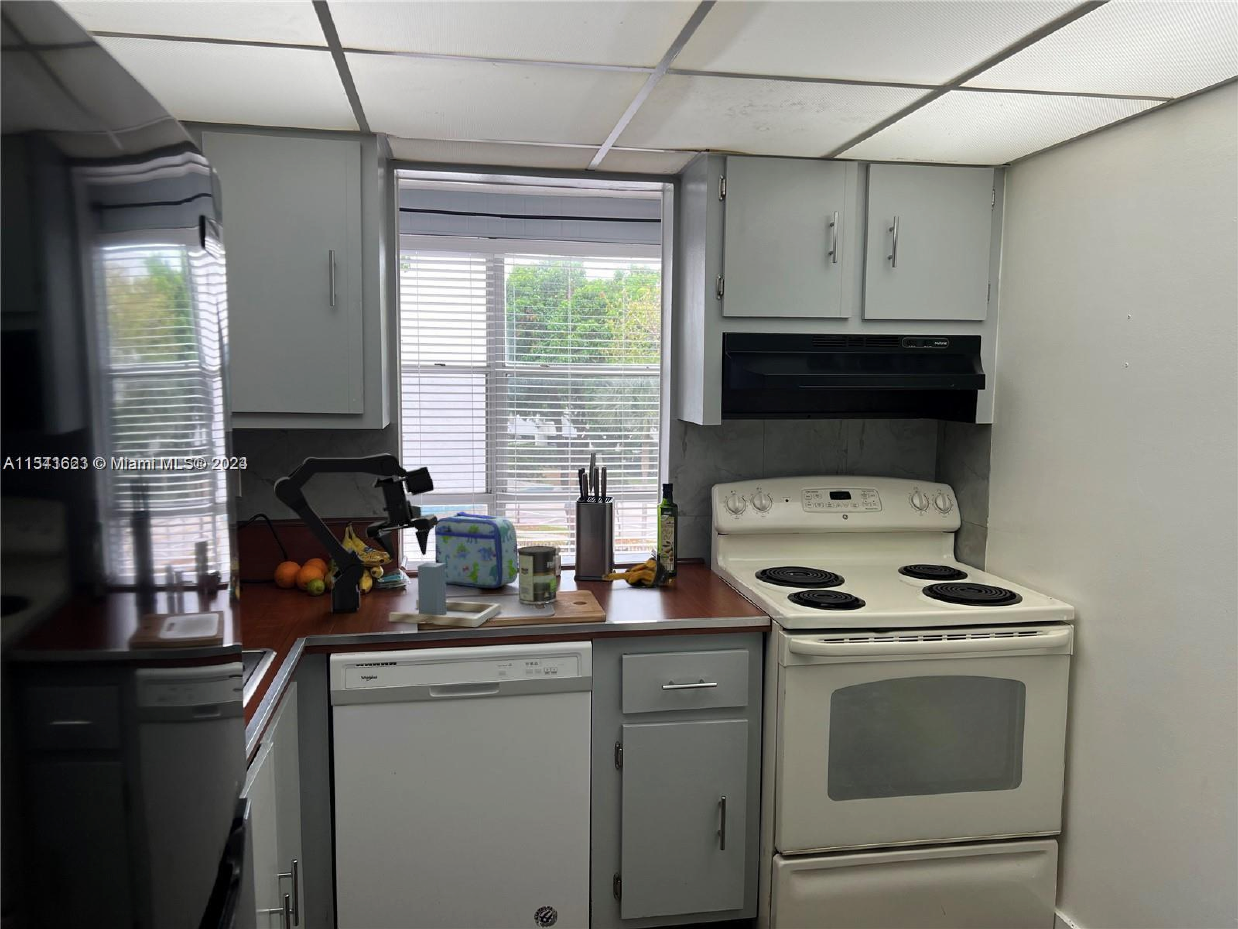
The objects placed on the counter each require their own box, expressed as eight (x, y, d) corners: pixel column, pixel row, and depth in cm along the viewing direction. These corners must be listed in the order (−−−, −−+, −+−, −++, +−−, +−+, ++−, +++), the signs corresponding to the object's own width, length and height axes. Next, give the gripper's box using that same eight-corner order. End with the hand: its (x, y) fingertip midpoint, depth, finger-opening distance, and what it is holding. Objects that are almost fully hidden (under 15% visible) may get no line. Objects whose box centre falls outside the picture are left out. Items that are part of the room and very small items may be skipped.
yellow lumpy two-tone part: (677, 572, 248) (621, 557, 241) (660, 603, 251) (605, 589, 244) (668, 555, 256) (614, 540, 249) (652, 585, 259) (598, 571, 252)
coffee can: (561, 596, 240) (560, 545, 238) (550, 605, 230) (550, 552, 228) (525, 595, 242) (524, 544, 241) (513, 603, 232) (512, 551, 230)
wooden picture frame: (389, 621, 214) (389, 613, 214) (418, 606, 229) (418, 599, 229) (476, 627, 209) (476, 618, 208) (500, 611, 223) (500, 603, 223)
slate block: (419, 617, 218) (417, 566, 217) (428, 612, 223) (427, 562, 222) (437, 618, 217) (435, 567, 216) (446, 613, 221) (445, 563, 220)
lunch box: (430, 583, 258) (428, 512, 257) (456, 576, 267) (454, 508, 265) (496, 593, 244) (495, 519, 242) (521, 586, 253) (520, 514, 251)
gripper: (440, 488, 234) (453, 543, 237) (379, 497, 239) (392, 551, 242) (421, 498, 224) (435, 556, 226) (358, 507, 229) (372, 564, 231)
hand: (409, 556), depth 232 cm, fingers open, 9 cm apart
